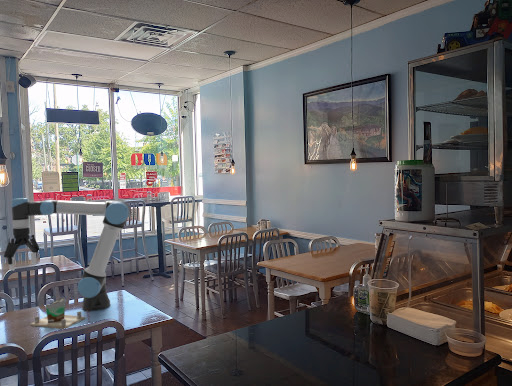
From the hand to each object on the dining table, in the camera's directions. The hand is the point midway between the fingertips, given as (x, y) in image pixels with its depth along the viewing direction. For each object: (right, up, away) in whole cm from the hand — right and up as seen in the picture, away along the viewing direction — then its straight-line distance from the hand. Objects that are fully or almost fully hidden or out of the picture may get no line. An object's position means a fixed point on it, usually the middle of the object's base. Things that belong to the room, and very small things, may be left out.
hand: (23, 267), depth 213 cm
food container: (+20, -28, -2) cm, 34 cm away
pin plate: (+20, -28, -2) cm, 35 cm away
